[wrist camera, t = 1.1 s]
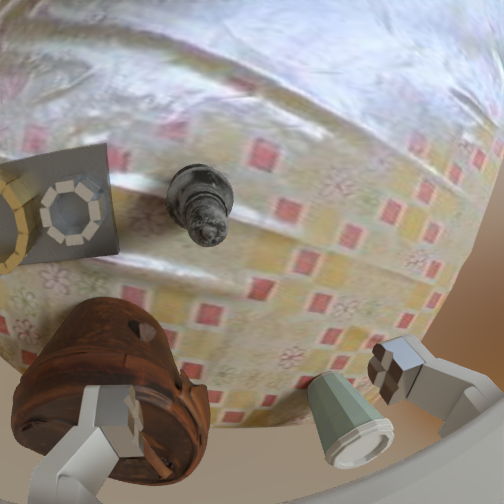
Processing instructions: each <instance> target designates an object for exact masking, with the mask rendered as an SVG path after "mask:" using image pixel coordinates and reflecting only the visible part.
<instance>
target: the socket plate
mask: <svg viewBox="0 0 504 504" xmlns="http://www.w3.org/2000/svg"><path fill="white" fill-rule="evenodd" d="M119 251H120V249H119V244H118V238H117V231H116V225H115V218H114V211H113V204H112V196H111V187H110V178H109V168H108V157H107V145H106V143H103V144H97V145H90V146H84V147H78V148H72V149H66V150H61V151H56V152H50V153H46V154H41V155H36V156H31V157H27V158H23V159H18V160H14V161H10V162H6V163H2V164H0V274H7V273H11V271H12V270H13V269H14V268H15V267H16V266H17V265H21V264H30V263H40V262H49V261H59V260H68V259H78V258H88V257H98V256H108V255H118V254H119Z"/></svg>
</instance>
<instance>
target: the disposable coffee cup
mask: <svg viewBox="0 0 504 504" xmlns="http://www.w3.org/2000/svg"><path fill="white" fill-rule="evenodd" d="M307 393H308V394H307V397H308V401H309V404H310V407H311V411H312V414H313V417H314V420H315V424H316V427H317V430H318V434H319V437H320V440H321V444H322V447H323V450H324V454H325V460H326V461H327V463H328V464H330V465H332V466H335V467H336V468H339V469H351V468H355V467H358V466H361V465H363V464H366V463H368V462H370V461H371V460H373V459H375V458H376V457H378V456H379V455H380V454H382V453H383V452H384V451H385V450H386V449H387V448H388V447H389V446H390V445H391V443H392V440H393V438H394V434H393V429H394V428H393V426H392V423H391V422H390V421H389V420H388V418H386V419H385V418H384V417H383V416H382V415H381V414H380V413H379V412H378V411H377V410H376V409H375V408H374V407H373V406H372V405H371V404H370V403H369V402H368V401H367V400H366V399H365V398H364V397H363V396H362V395H361V394H360V393H359V392H358V391H357V390H356V389H355V388H354V386H353V385H352V384H351V383H350V382H349V381H348V380H347V379H346V378H345V377H344V376H343V375H342V374H340V373H338V372H335V371H329V372H326V373H323V374H320V375H319V376H318V377H316V378H315V379H313V380H312V382H311V383H310V384H309V386H308V391H307Z"/></svg>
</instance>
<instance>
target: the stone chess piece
mask: <svg viewBox="0 0 504 504" xmlns="http://www.w3.org/2000/svg"><path fill="white" fill-rule="evenodd" d="M166 201H167V209H168V211H169V214H170V216H171V217H172V219H173V220H174V221H175V223H177V224H178V225H179V226H181V227H182V228H184V229H187V230H188V233H189V236H190V237H191V239H192V240H193V241H194V242H195V243H197V244H198V245H200V246H203V247H213V246H216V245H218V244H219V243H221V242H222V241H223V240H224V239H225V237H226V235H227V233H228V228H229V227H228V220H227V217H228V215H229V214H230V212H231V210H232V206H233V202H234V201H233V191H232V187H231V185H230V183H229V182H228V180H227V179H226V177H224V176H223V175H222V174H221V173H220V172H218V171H216V170H215V169H213V168H212V167H210V166H207V165H203V164H192V165H189V166H186V167H184V168H183V169H181V170H180V171H179V172H178V173H177V174H176V175H175V177H174V179H173V181H172V183H171V185H170V187H169V189H168V193H167V198H166Z"/></svg>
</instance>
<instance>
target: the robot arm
mask: <svg viewBox="0 0 504 504" xmlns="http://www.w3.org/2000/svg"><path fill="white" fill-rule="evenodd" d="M372 352H373V354H374V356H373V357H372V358H371V360H370V361H369V364H368V376H369V378H370V380H371V382H372V383H373V385H375V386H377V387H379V388H380V391H379V393H380V395H381V396H382V398H383V399H384V400H385V402H386V403H387V405H391V404H394V403H396V402H399V401H402V400H404V399H407V401H409V402H411V403H413V404H414V405H416V406H418V407H420V408H421V409H423V410H425V411H427V412H428V413H430V414H432V415H434V416H436V417H437V418H439V419H441V420H442V421H444V423H443V424H442V426H441V427H440V429H439V431H438V434H439V435H440V436H441V438H442V439H441V440H439V441H437V442H435V443H433V444H432V445H430V446H428V447H426V448H424V449H422V450H420V451H418V452H417V453H415V454H413V455H411V456H409V457H407V458H405V459H402V460H400V461H399V462H396V463H394V464H392V465H390V466H387V467H385V468H383V469H381V470H379V471H376V472H374V473H371V474H369V475H367V476H364V477H361V478H359V479H356V480H354V481H351V482H349V483H346V484H343V485H340V486H337V487H334V488H331V489H328V490H325V491H322V492H319V493H315V494H312V495H309V496H305V497H302V498H298V499H294V500H290V501H286V502H283V503H279V504H504V393H503V392H502V391H501V390H500V389H499V388H498V387H497V386H496V385H495V384H494V383H493V382H492V381H491V380H490V379H489V378H488V376H486V375H483V374H480V373H478V372H475V371H472V370H469V369H467V368H464V367H462V366H459V365H456V364H453V363H451V362H448V361H446V360H443V359H440V358H437V359H436V358H435V357H434V356H433V355H432V354H431V353H430V352H429V351H428V350H427V349H426V348H425V347H424V346H423V345H422V344H421V342H420V341H419V340H418V339H417V338H416V337H415V336H414V335H412V334H410V333H409V334H406V335H403V336H400V337H396V338H393V339H390V340H386V341H383V342H380V343H377V344H376V345H375V346H374V348H373V351H372ZM143 428H144V426H143V414H142V410H141V406H140V403H139V401H138V400H136V399H135V390H134V388H133V386H132V385H87V386H86V387H85V389H84V393H83V398H82V404H81V409H80V415H79V421H78V426H73V427H72V428H71V429H70V430H69V431H68V433H67V434H66V435H65V436H64V437H63V438H62V439H61V440H60V441H59V442H58V443H57V444H56V445H55V447H54V448H53V449H52V450H51V451H50V452H49V453H48V454H47V455H46V456H45V457H44V458H43V459H42V461H41V462H40V463H39V464H38V465H37V466H36V467H35V468H34V469H33V470H32V474H31V481H30V488H29V495H28V504H103V503H101V502H100V501H99V500H98V499H97V498H96V495H97V494H98V492H99V490H100V489H101V487H102V485H103V484H104V482H105V481H106V479H107V477H108V476H109V474H110V473H111V471H112V469H113V468H114V466H115V465H116V463H117V461H118V460H119V457H138V456H144V439H143V437H142V435H141V431H142V429H143ZM0 504H17V503H13V502H9V501H5V500H2V499H0Z"/></svg>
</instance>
